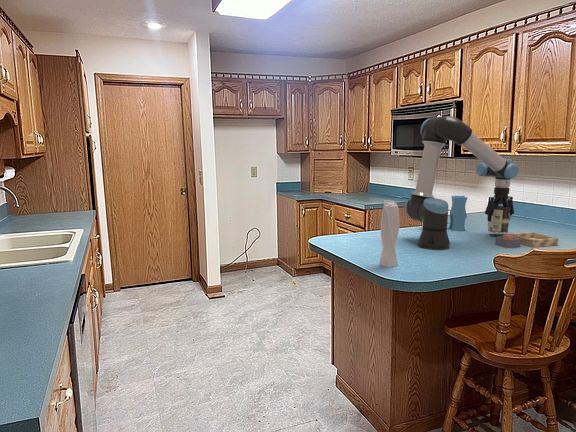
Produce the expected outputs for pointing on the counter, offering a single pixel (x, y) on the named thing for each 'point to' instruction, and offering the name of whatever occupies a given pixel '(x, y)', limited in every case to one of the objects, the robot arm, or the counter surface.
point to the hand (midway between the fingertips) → (498, 226)
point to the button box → (507, 242)
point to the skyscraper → (389, 233)
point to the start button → (508, 236)
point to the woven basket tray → (536, 239)
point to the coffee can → (500, 220)
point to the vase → (458, 213)
